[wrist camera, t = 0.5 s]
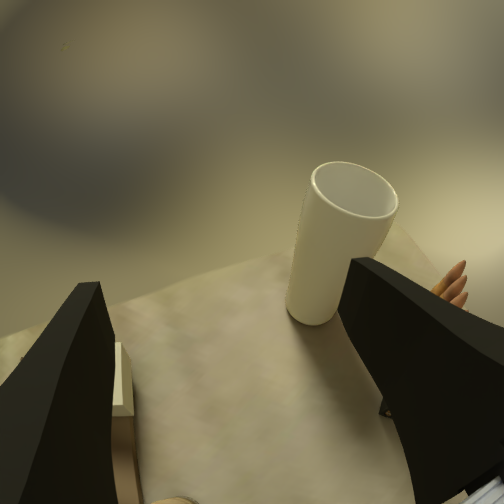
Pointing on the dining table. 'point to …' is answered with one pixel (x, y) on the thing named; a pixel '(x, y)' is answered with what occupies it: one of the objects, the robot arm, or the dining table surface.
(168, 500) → the brown upright cylinder
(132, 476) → the board
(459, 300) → the ammunition clip
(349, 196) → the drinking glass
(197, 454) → the dining table surface
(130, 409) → the block
